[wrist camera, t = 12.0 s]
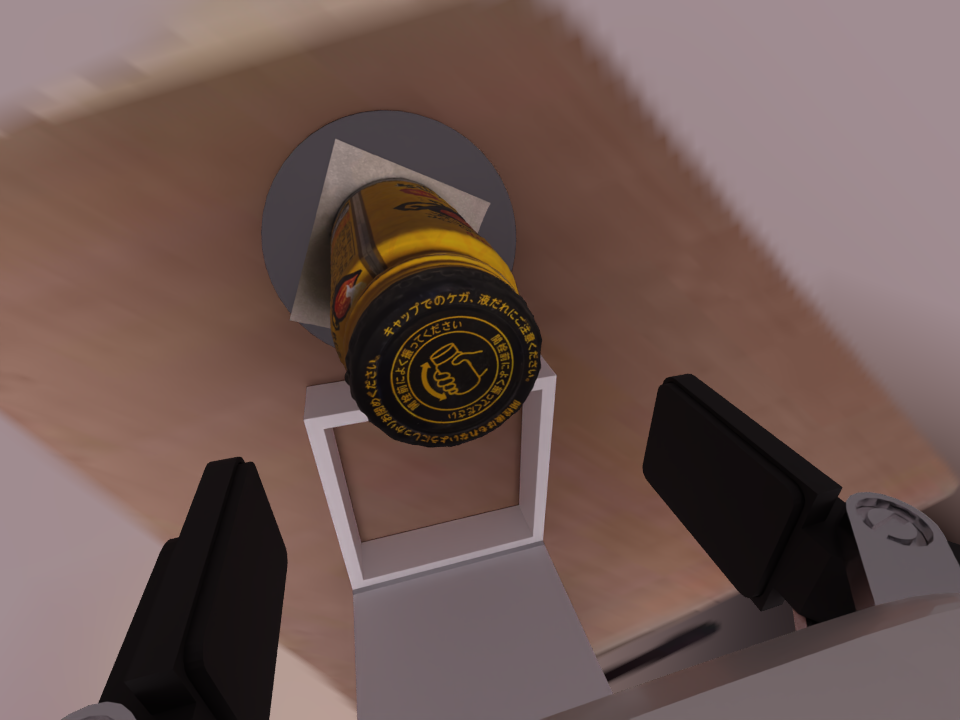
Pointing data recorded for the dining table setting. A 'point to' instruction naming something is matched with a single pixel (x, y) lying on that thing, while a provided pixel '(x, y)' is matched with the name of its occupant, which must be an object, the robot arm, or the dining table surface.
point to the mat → (391, 139)
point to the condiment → (416, 303)
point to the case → (459, 594)
